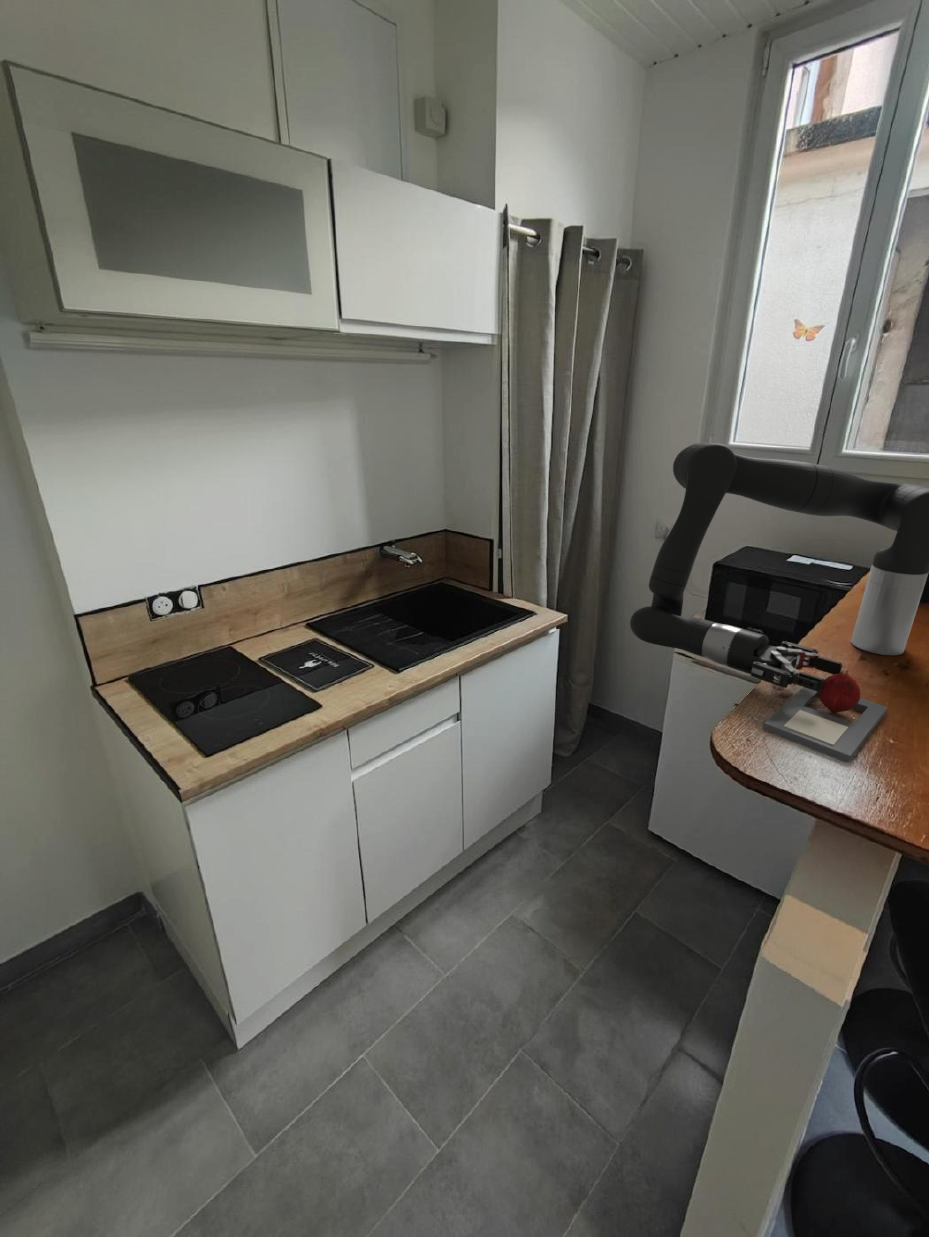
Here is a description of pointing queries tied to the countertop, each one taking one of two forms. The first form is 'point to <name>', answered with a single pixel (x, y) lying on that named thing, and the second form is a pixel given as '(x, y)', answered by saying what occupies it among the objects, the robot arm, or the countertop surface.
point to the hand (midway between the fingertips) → (832, 677)
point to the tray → (824, 725)
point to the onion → (840, 692)
